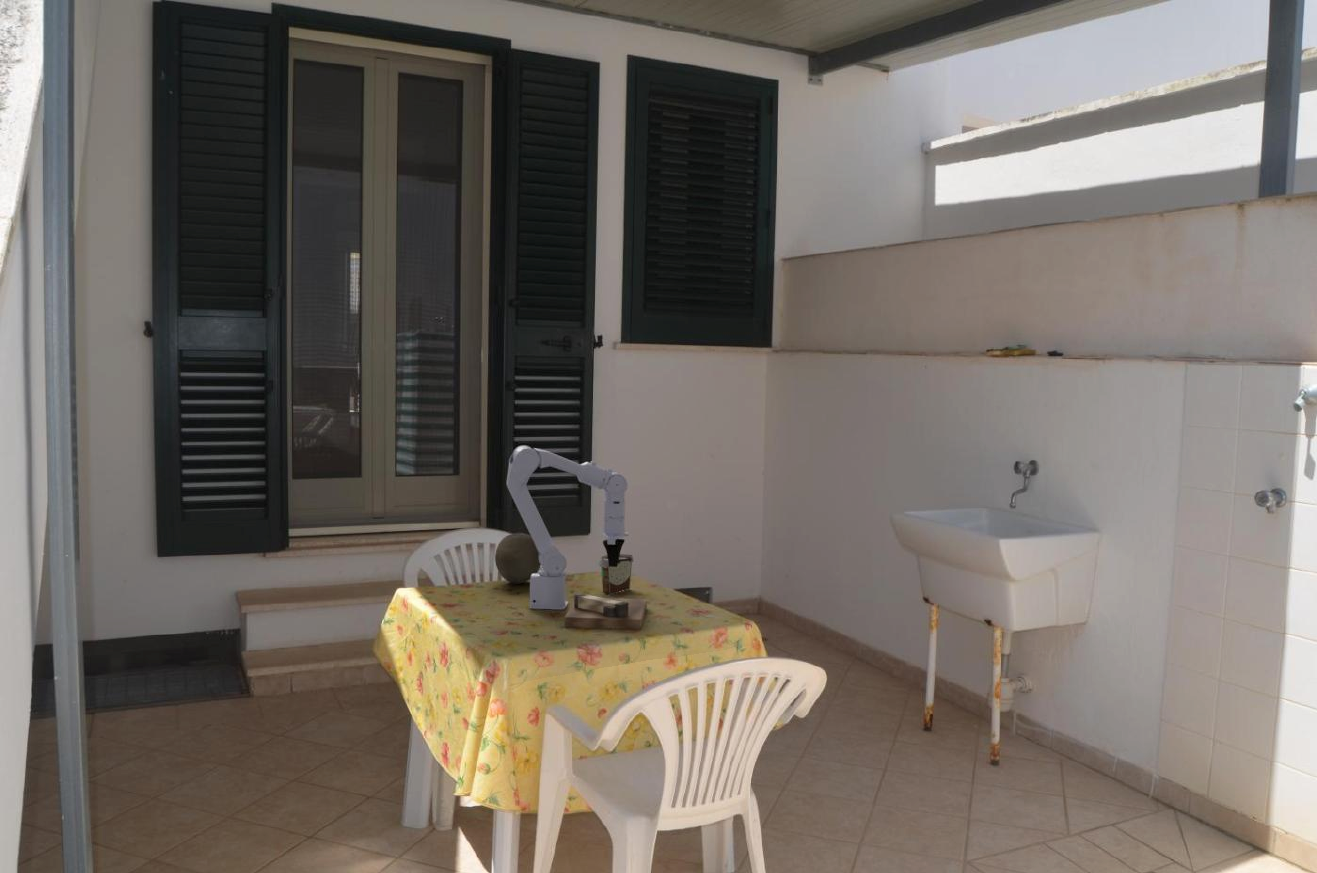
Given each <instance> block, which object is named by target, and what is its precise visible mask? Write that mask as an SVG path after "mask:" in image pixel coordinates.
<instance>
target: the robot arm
mask: <svg viewBox="0 0 1317 873" xmlns="http://www.w3.org/2000/svg"><path fill="white" fill-rule="evenodd" d="M538 467H539V468H540V469H543V468H548V467H551V468H555V469H557V470H560V471H564V472H566V473H569V474H572V475H575V476H576V478H577V480H578V482H579V483H582V484H585V485H587V486H590V487H593V488H597V489H599V490H604V499H603V532H602V537H604V538H606V539H603V541H602V546H604V549H605V552H606V555H607V556H608V562H609V566H610V567H617V565H618V562H619V556H620V554H621V550H622V547H623V546H624V544H625V541H626V539H624V538H623V537H628V536H629V534H630V533H629V532H625V523H626V522H625V519H626V518H625V515H626V500H625V499H626V498H625V496H626V495H625V494H626V492H627V490H628V487H629V484H628V482H627V479H626V478H625V476H624V475H622V474H619V472H616V471H614V470H613V469H612V468H609V467H608V469H607V468H604V467H602V466H600V465H598V464H597V462H595V461H592V460H591V461H585V462H583V463H580V464H579V463H578V462H576V461H573V460H570V459H568V458H566V457H564V456H561V455H558V454H556V453H553V452H552V451H548V450H544V449H542V448H535V447H533V448H532V447H530V446H529V445H525V444H523V445H519V446H517V447H516V448H515V449H514V450H513V451H512V454H511V455H510V457H509V459H508V469H507V476H506V487H507V489H508V491H509V493H510V496H511V499H513V502H514V504H515V506H516V508H517V511H518V512H519V514H520V516H521V518H522V520H523V522H524V524H525V527H526V529H527V531H528V533H529V535H530V536H531V537H532V539H533V541H534V543H535V545H536V548H537V550H538V553H539V562H540V564H541V567H540V568H539V570H538V572H537V573H533V574H532V575H531V579H530V580H529V581H530V582H529V607H528V608H529V609H531V610H532V609H533V610H534V609H536V610H560V611H561V610H565V609H566V608H567V606H568V604H569V601H567V600H566V588H567V587H566V581H567V580H566V578H567V577H566V576H567V575H566V574H567V572H566V570H565V569H566V568H567V564H568V563H567V559H566V557H565V556H564V554H563V553H562V552H561V550H560V549H559V548H558V547H557V546H556V544H555V543H554V541H553V539H552V537H551V535H550V533H549V531H548V529H547V527H546V525H545V523H544V519H543V518H542V516H541V515H540V512H539V510H538V507H537V506H536V504H535V501H534V500H533V498H532V496H531V494H530V491H529V490H528V487H527V484H528V482H529V480H530V477H531V475H532V474H533V473H534V472H535V471H536V470H537V468H538Z"/></svg>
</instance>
